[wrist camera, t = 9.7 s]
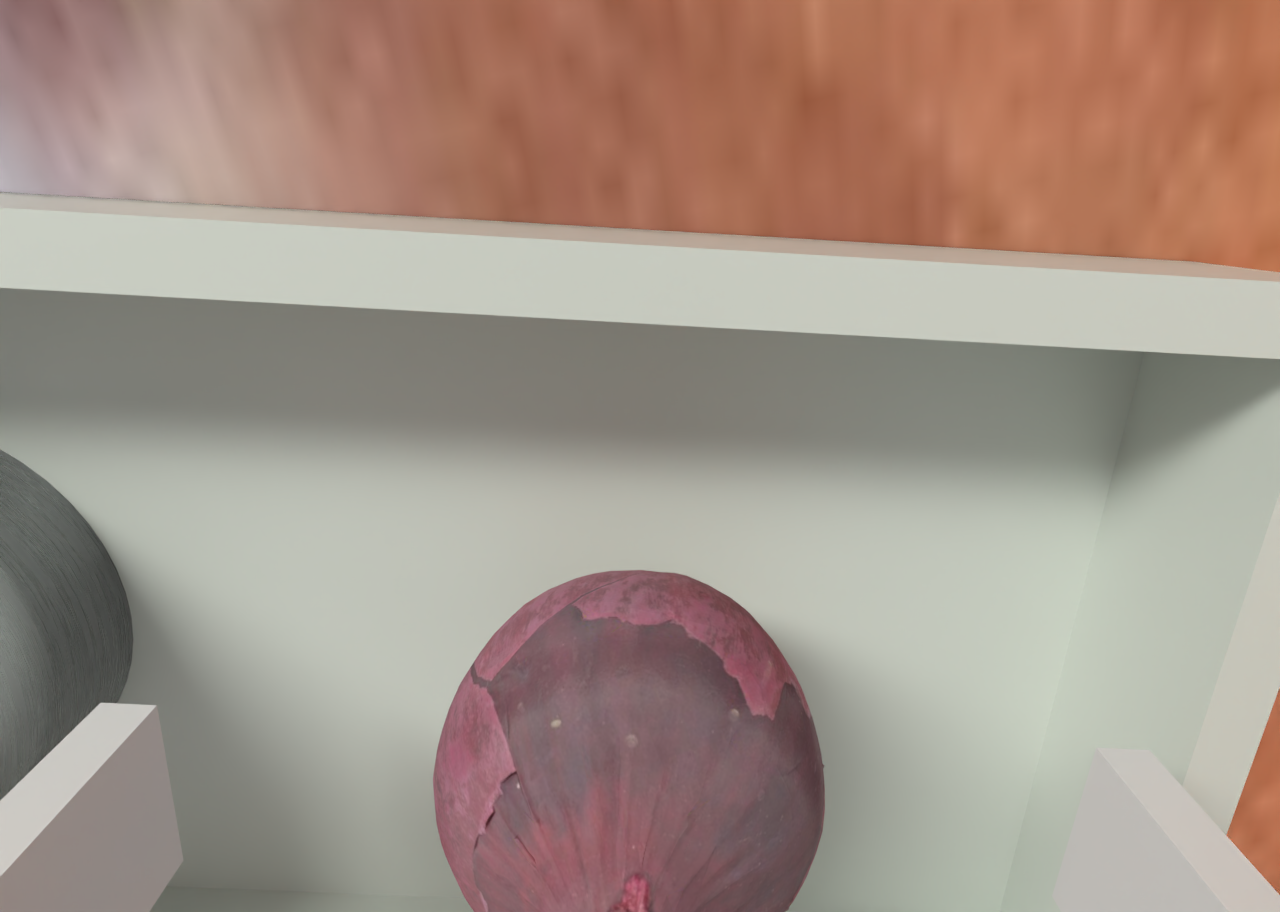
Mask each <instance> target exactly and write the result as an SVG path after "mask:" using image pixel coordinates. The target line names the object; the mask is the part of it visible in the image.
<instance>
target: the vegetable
mask: <svg viewBox="0 0 1280 912" xmlns="http://www.w3.org/2000/svg"><path fill="white" fill-rule="evenodd" d="M823 768H824V765H823V764H822V755H821V750H820V746H819V741H818V737H817V732H816V729H815V725H814V721H813V718H812V715H811V712H810V709H809V706H808V704H807V701H806V698H805V695H804V693H803V690H802V688H801V685H800V683H799V681H798V679H797V677H796V675H795V674H794V672H793V670H792V669H791V667H790V666H789V664H788V662H787V661H786V659H785V658H784V656H783V654H782V653H781V651H780V650H779V648H778V647H777V645H776V644H775V642H774V641H773V639H772V638H771V637H770V636H769V635H768V634H767V632H766V631H765V630H764V629H763V628H762V627H761V625H760V624H759V623H758V622H757V621H756V620H755V619H754V617H753V616H752V615H751V614H750V613H749V612H748V611H747V610H746V609H745V608H743V607H742V606H741V605H739V604H738V603H737V602H735V601H734V600H733V599H732V598H730V597H729V596H727V595H725V594H723V593H722V592H720V591H718V590H716V589H715V588H713V587H711V586H709V585H707V584H705V583H703V582H700V581H698V580H696V579H693V578H691V577H689V576H686V575H682V574H678V573H669V572H655V571H646V570H623V571H607V572H600V573H594V574H590V575H586V576H582V577H579V578H575V579H573V580H570V581H568V582H566V583H563V584H561V585H558V586H556V587H553V588H551V589H549V590H547V591H545V592H543V593H542V594H540V595H539V596H537V597H535V598H534V599H532V600H531V601H529V602H527V603H526V604H524V605H523V606H522V607H521V608H520V609H519V610H518V611H517V612H516V613H515V614H514V615H513V616H511V617H510V618H509V619H508V620H507V621H506V622H505V623H504V624H503V625H502V626H501V627H500V628H499V629H498V630H497V631H496V632H495V633H494V635H493V636H492V637H491V638H490V640H489V641H488V643H487V644H486V645H485V647H484V648H483V649H482V651H481V652H480V653H479V655H478V656H477V658H476V659H475V661H474V663H473V664H472V666H471V667H470V669H469V670H468V672H467V673H466V675H465V677H464V678H463V680H462V682H461V683H460V685H459V687H458V690H457V692H456V694H455V696H454V699H453V701H452V703H451V705H450V708H449V711H448V714H447V717H446V720H445V723H444V726H443V729H442V732H441V736H440V740H439V744H438V748H437V754H436V760H435V767H434V774H433V788H434V801H435V813H436V823H437V828H438V832H439V836H440V840H441V844H442V847H443V850H444V853H445V856H446V858H447V861H448V863H449V865H450V868H451V870H452V872H453V874H454V877H455V879H456V881H457V883H458V885H459V887H460V889H461V891H462V893H463V896H464V898H465V899H466V901H467V902H468V904H469V905H470V907H471V908H472V910H473V911H474V912H786V911H787V910H789V907H790V905H791V904H792V903H793V901H794V899H795V898H796V896H797V894H798V892H799V891H800V889H801V887H802V885H803V883H804V881H805V879H806V877H807V875H808V872H809V870H810V867H811V865H812V862H813V860H814V857H815V855H816V852H817V849H818V845H819V842H820V839H821V835H822V832H823V823H824V813H825V785H824V772H823Z"/></svg>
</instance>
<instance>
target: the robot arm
mask: <svg viewBox="0 0 1280 912" xmlns="http://www.w3.org/2000/svg"><path fill="white" fill-rule="evenodd" d="M182 862H183V854H182V849H181V843H180V837H179V831H178V825H177V819H176V814H175V808H174V802H173V796H172V790H171V784H170V778H169V773H168V767H167V761H166V755H165V749H164V743H163V738H162V732H161V726H160V720H159V714H158V708H157V705H140V704H118V703H100V704H99V705H98V706H97V707H96V708H95V709H94V710H93V711H92V712H91V713H90V714H89V715H88V716H87V717H86V718H84V719H83V720H82V721H81V722H80V723H79V724H78V725H77V726H76V727H75V728H74V729H73V730H72V731H71V732H70V733H69V734H68V735H67V736H66V737H65V738H64V739H63V740H62V741H61V742H60V743H59V744H58V745H57V746H56V747H55V748H54V749H53V750H52V751H51V752H50V753H49V754H48V755H47V756H46V757H44V758H43V759H42V760H41V761H40V762H39V763H38V764H37V765H36V766H35V767H34V768H33V769H32V770H31V771H30V772H29V773H28V774H27V775H26V776H25V777H24V778H23V779H22V780H21V781H20V782H19V783H18V784H17V785H16V786H15V787H14V788H13V789H12V790H11V791H10V792H9V793H8V794H7V795H6V796H4V797H3V798H2V799H1V800H0V912H149V911H150V910H151V908H152V907H153V905H154V904H155V902H156V901H157V899H158V898H159V896H160V895H161V893H162V892H163V890H164V889H165V887H166V886H167V884H168V883H169V881H170V880H171V878H172V877H173V875H174V874H175V872H176V871H177V869H178V868H179V866H180V865H181V863H182ZM1052 897H1053V899H1054V900H1055V902H1056V904H1057V906H1058V907H1059V909H1060V911H1061V912H1280V895H1279V894H1278V893H1277V892H1276V890H1275V889H1274V888H1273V887H1272V886H1271V885H1270V884H1269V883H1268V882H1267V880H1266V879H1265V878H1264V877H1263V876H1262V875H1261V874H1260V873H1259V872H1258V870H1257V869H1256V868H1255V867H1254V866H1253V865H1252V864H1251V863H1250V861H1249V860H1248V859H1247V858H1246V857H1245V856H1244V855H1243V854H1242V853H1241V851H1240V850H1239V849H1238V848H1237V847H1236V846H1235V845H1234V844H1233V843H1232V841H1231V840H1230V839H1229V838H1228V837H1227V836H1226V835H1225V834H1224V832H1223V831H1222V830H1221V829H1220V828H1219V827H1218V826H1217V825H1216V824H1215V822H1214V821H1213V820H1212V819H1211V818H1210V817H1209V816H1208V815H1207V814H1206V812H1205V811H1204V810H1203V809H1202V808H1201V807H1200V806H1199V805H1198V803H1197V802H1196V801H1195V800H1194V799H1193V798H1192V797H1191V796H1190V795H1189V793H1188V792H1187V791H1186V790H1185V789H1184V788H1183V787H1182V786H1181V785H1180V783H1179V782H1178V781H1177V780H1176V779H1175V778H1174V777H1173V776H1172V774H1171V773H1170V772H1169V771H1168V770H1167V769H1166V768H1165V767H1164V766H1163V764H1162V763H1161V762H1160V761H1159V760H1158V759H1157V758H1156V757H1155V756H1154V754H1153V753H1152V752H1151V751H1150V750H1137V749H1114V748H1096V750H1095V754H1094V757H1093V760H1092V764H1091V767H1090V770H1089V774H1088V777H1087V780H1086V784H1085V787H1084V790H1083V794H1082V797H1081V800H1080V804H1079V807H1078V811H1077V814H1076V817H1075V821H1074V824H1073V827H1072V831H1071V834H1070V837H1069V841H1068V844H1067V847H1066V851H1065V854H1064V857H1063V861H1062V864H1061V868H1060V871H1059V874H1058V878H1057V881H1056V884H1055V888H1054V891H1053V894H1052Z"/></svg>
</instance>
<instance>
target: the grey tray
mask: <svg viewBox="0 0 1280 912" xmlns="http://www.w3.org/2000/svg"><path fill="white" fill-rule="evenodd" d="M0 449H1V450H2V451H4V452H6V453H7V454H9V455H11V456H12V457H14V458H16V459H17V460H19V461H21V462H22V463H24V464H25V465H26V466H28V467H29V468H30V469H32V470H33V471H34V472H36V473H37V474H38V475H40V476H41V477H43V478H44V479H45V480H47V481H48V482H49V483H50V484H51V485H52V486H53V487H54V488H55V489H56V490H57V491H59V492H60V493H61V494H62V495H63V496H64V497H65V498H66V499H67V500H68V501H69V502H70V503H71V504H72V505H73V506H74V507H75V508H76V510H77V511H78V512H79V513H80V514H81V515H82V516H83V518H84V519H85V520H86V521H87V522H88V523H89V525H90V526H91V528H92V529H93V530H94V532H95V533H96V535H97V536H98V538H99V539H100V541H101V542H102V543H103V545H104V546H105V548H106V550H107V552H108V554H109V556H110V558H111V559H112V561H113V563H114V565H115V567H116V569H117V571H118V574H119V576H120V579H121V581H122V584H123V587H124V589H125V592H126V596H127V600H128V604H129V608H130V612H131V618H132V629H133V652H132V662H131V666H130V671H129V675H128V679H127V682H126V685H125V687H124V689H123V692H122V694H121V697H120V699H119V701H118V702H117V703H118V704H140V705H157V708H158V714H159V720H160V726H161V732H162V738H163V743H164V749H165V755H166V761H167V767H168V773H169V778H170V784H171V790H172V796H173V802H174V808H175V814H176V819H177V825H178V831H179V837H180V843H181V849H182V854H183V862H182V863H181V865H180V866H179V868H178V869H177V871H176V872H175V874H174V875H173V877H172V878H171V880H170V881H169V883H168V884H167V886H166V887H165V889H164V890H163V892H162V893H161V895H160V896H159V898H158V899H157V901H156V902H155V904H154V905H153V907H152V908H151V910H150V911H149V912H474V911H473V910H472V908H471V907H470V905H469V904H468V902H467V901H466V899H465V898H464V896H463V893H462V891H461V889H460V887H459V885H458V883H457V881H456V879H455V877H454V874H453V872H452V870H451V868H450V865H449V863H448V861H447V858H446V856H445V853H444V850H443V847H442V844H441V840H440V836H439V832H438V828H437V823H436V813H435V801H434V788H433V774H434V767H435V760H436V754H437V748H438V744H439V740H440V736H441V732H442V729H443V726H444V723H445V720H446V717H447V714H448V711H449V708H450V705H451V703H452V701H453V699H454V696H455V694H456V692H457V690H458V687H459V685H460V683H461V682H462V680H463V678H464V677H465V675H466V673H467V672H468V670H469V669H470V667H471V666H472V664H473V663H474V661H475V659H476V658H477V656H478V655H479V653H480V652H481V651H482V649H483V648H484V647H485V645H486V644H487V643H488V641H489V640H490V638H491V637H492V636H493V635H494V633H495V632H496V631H497V630H498V629H499V628H500V627H501V626H502V625H503V624H504V623H505V622H506V621H507V620H508V619H509V618H510V617H511V616H513V615H514V614H515V613H516V612H517V611H518V610H519V609H520V608H521V607H522V606H523V605H524V604H526V603H527V602H529V601H531V600H532V599H534V598H535V597H537V596H539V595H540V594H542V593H543V592H545V591H547V590H549V589H551V588H553V587H556V586H558V585H561V584H563V583H566V582H568V581H570V580H573V579H575V578H579V577H582V576H586V575H590V574H594V573H600V572H607V571H623V570H646V571H655V572H669V573H678V574H682V575H686V576H689V577H691V578H693V579H696V580H698V581H700V582H703V583H705V584H707V585H709V586H711V587H713V588H715V589H716V590H718V591H720V592H722V593H723V594H725V595H727V596H729V597H730V598H732V599H733V600H734V601H735V602H737V603H738V604H739V605H741V606H742V607H743V608H745V609H746V610H747V611H748V612H749V613H750V614H751V615H752V616H753V617H754V619H755V620H756V621H757V622H758V623H759V624H760V625H761V627H762V628H763V629H764V630H765V631H766V632H767V634H768V635H769V636H770V637H771V638H772V639H773V641H774V642H775V644H776V645H777V647H778V648H779V650H780V651H781V653H782V654H783V656H784V658H785V659H786V661H787V662H788V664H789V666H790V667H791V669H792V670H793V672H794V674H795V675H796V677H797V679H798V681H799V683H800V685H801V688H802V690H803V693H804V695H805V698H806V701H807V704H808V706H809V709H810V712H811V715H812V718H813V721H814V725H815V729H816V732H817V737H818V741H819V746H820V750H821V755H822V764H823V765H824V768H823V772H824V785H825V813H824V823H823V832H822V835H821V839H820V842H819V845H818V849H817V852H816V855H815V857H814V860H813V862H812V865H811V867H810V870H809V872H808V875H807V877H806V879H805V881H804V883H803V885H802V887H801V889H800V891H799V892H798V894H797V896H796V898H795V899H794V901H793V903H792V904H791V905H790V907H789V910H787V911H786V912H1061V911H1060V909H1059V907H1058V906H1057V904H1056V902H1055V900H1054V899H1053V897H1052V894H1053V891H1054V888H1055V884H1056V881H1057V878H1058V874H1059V871H1060V868H1061V864H1062V861H1063V857H1064V854H1065V851H1066V847H1067V844H1068V841H1069V837H1070V834H1071V831H1072V827H1073V824H1074V821H1075V817H1076V814H1077V811H1078V807H1079V804H1080V800H1081V797H1082V794H1083V790H1084V787H1085V784H1086V780H1087V777H1088V774H1089V770H1090V767H1091V764H1092V760H1093V757H1094V754H1095V750H1096V748H1114V749H1137V750H1150V751H1151V752H1152V753H1153V754H1154V756H1155V757H1156V758H1157V759H1158V760H1159V761H1160V762H1161V763H1162V764H1163V766H1164V767H1165V768H1166V769H1167V770H1168V771H1169V772H1170V773H1171V774H1172V776H1173V777H1174V778H1175V779H1176V780H1177V781H1178V782H1179V783H1180V785H1181V786H1182V787H1183V788H1184V789H1185V790H1186V791H1187V792H1188V793H1189V795H1190V796H1191V797H1192V798H1193V799H1194V800H1195V801H1196V802H1197V803H1198V805H1199V806H1200V807H1201V808H1202V809H1203V810H1204V811H1205V812H1206V814H1207V815H1208V816H1209V817H1210V818H1211V819H1212V820H1213V821H1214V822H1215V824H1216V825H1217V826H1218V827H1219V828H1220V829H1221V830H1222V831H1223V832H1224V834H1225V835H1226V834H1227V832H1228V829H1229V826H1230V823H1231V820H1232V818H1233V815H1234V812H1235V809H1236V807H1237V804H1238V801H1239V798H1240V796H1241V793H1242V790H1243V787H1244V784H1245V782H1246V779H1247V776H1248V773H1249V771H1250V768H1251V765H1252V762H1253V760H1254V757H1255V754H1256V751H1257V749H1258V746H1259V743H1260V740H1261V737H1262V735H1263V732H1264V729H1265V726H1266V724H1267V721H1268V718H1269V715H1270V713H1271V710H1272V707H1273V704H1274V701H1275V699H1276V696H1277V693H1278V690H1279V688H1280V272H1272V271H1264V270H1256V269H1248V268H1240V267H1232V266H1224V265H1216V264H1208V263H1200V262H1190V261H1173V260H1156V259H1139V258H1122V257H1104V256H1087V255H1070V254H1053V253H1036V252H1019V251H1002V250H984V249H967V248H950V247H933V246H916V245H899V244H881V243H864V242H847V241H830V240H813V239H796V238H779V237H761V236H744V235H727V234H710V233H693V232H676V231H659V230H641V229H624V228H607V227H590V226H573V225H556V224H539V223H521V222H504V221H487V220H470V219H453V218H436V217H419V216H401V215H384V214H367V213H350V212H333V211H316V210H299V209H281V208H264V207H247V206H230V205H213V204H196V203H179V202H161V201H144V200H127V199H110V198H93V197H76V196H59V195H41V194H24V193H7V192H0Z"/></svg>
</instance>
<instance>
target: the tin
mask: <svg viewBox="0 0 1280 912" xmlns="http://www.w3.org/2000/svg"><path fill="white" fill-rule="evenodd" d="M132 652H133V629H132V618H131V612H130V608H129V604H128V600H127V596H126V592H125V589H124V587H123V584H122V581H121V579H120V576H119V574H118V571H117V569H116V567H115V565H114V563H113V561H112V559H111V558H110V556H109V554H108V552H107V550H106V548H105V546H104V545H103V543H102V542H101V541H100V539H99V538H98V536H97V535H96V533H95V532H94V530H93V529H92V528H91V526H90V525H89V523H88V522H87V521H86V520H85V519H84V518H83V516H82V515H81V514H80V513H79V512H78V511H77V510H76V508H75V507H74V506H73V505H72V504H71V503H70V502H69V501H68V500H67V499H66V498H65V497H64V496H63V495H62V494H61V493H60V492H59V491H57V490H56V489H55V488H54V487H53V486H52V485H51V484H50V483H49V482H48V481H47V480H45V479H44V478H43V477H41V476H40V475H38V474H37V473H36V472H34V471H33V470H32V469H30V468H29V467H28V466H26V465H25V464H24V463H22V462H21V461H19V460H17V459H16V458H14V457H12V456H11V455H9V454H7V453H6V452H4V451H2V450H1V449H0V800H1V799H2V798H3V797H4V796H6V795H7V794H8V793H9V792H10V791H11V790H12V789H13V788H14V787H15V786H16V785H17V784H18V783H19V782H20V781H21V780H22V779H23V778H24V777H25V776H26V775H27V774H28V773H29V772H30V771H31V770H32V769H33V768H34V767H35V766H36V765H37V764H38V763H39V762H40V761H41V760H42V759H43V758H44V757H46V756H47V755H48V754H49V753H50V752H51V751H52V750H53V749H54V748H55V747H56V746H57V745H58V744H59V743H60V742H61V741H62V740H63V739H64V738H65V737H66V736H67V735H68V734H69V733H70V732H71V731H72V730H73V729H74V728H75V727H76V726H77V725H78V724H79V723H80V722H81V721H82V720H83V719H84V718H86V717H87V716H88V715H89V714H90V713H91V712H92V711H93V710H94V709H95V708H96V707H97V706H98V705H99V704H100V703H117V702H118V701H119V699H120V697H121V694H122V692H123V689H124V687H125V685H126V682H127V679H128V675H129V671H130V666H131V662H132Z"/></svg>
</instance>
